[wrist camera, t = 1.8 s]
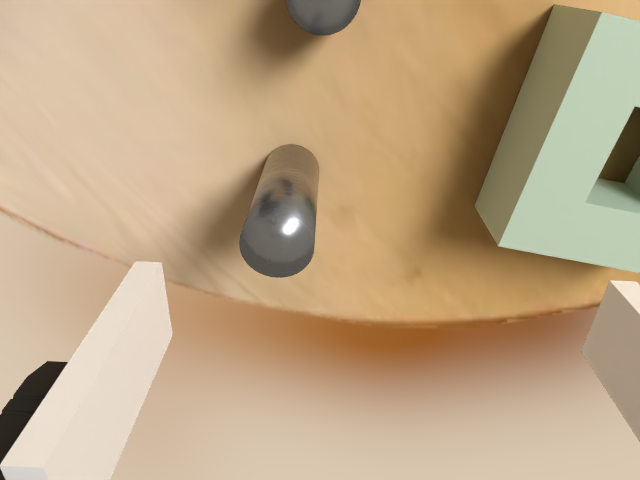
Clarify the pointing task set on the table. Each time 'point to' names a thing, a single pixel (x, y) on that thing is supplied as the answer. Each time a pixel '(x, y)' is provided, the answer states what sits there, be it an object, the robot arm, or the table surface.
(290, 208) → the long pin
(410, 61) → the table surface
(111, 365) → the robot arm
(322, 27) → the short pin
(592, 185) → the guide block
